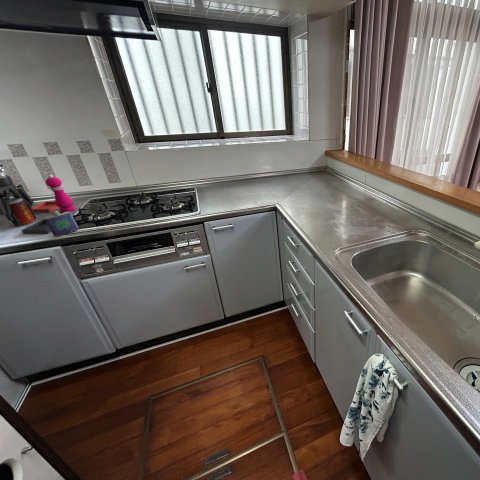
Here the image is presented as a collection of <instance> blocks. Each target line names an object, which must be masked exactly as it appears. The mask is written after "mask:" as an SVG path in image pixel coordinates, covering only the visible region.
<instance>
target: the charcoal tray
mask: <svg viewBox="0 0 480 480" xmlns="http://www.w3.org/2000/svg"><path fill="white" fill-rule="evenodd" d="M21 232H22V234H23V235H35V234H37V235H39V234H43V235H44V234H45V235H46V234H49V233H52V231H51V230H50V228H49V226H48V225H47V223H46V221H45V219H40V220H39V221H37V222H34V223H32V224H30V225H29V226H27V227H25V228H23V229H21Z"/></svg>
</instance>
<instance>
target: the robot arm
mask: <svg viewBox="0 0 480 480" xmlns="http://www.w3.org/2000/svg"><path fill="white" fill-rule="evenodd" d="M11 197H13V198H20V199H23V200H24V202H25V203H26V205H27V207H28V208H29V210H30V211H31V213H32V215H33V216H34V220H35V219H38V217H37V215H36V214H35V213H34V212H33V211H34V210H33V209H32V207H33V204H34V200H33V199H32V198H31V196H30V195H29V194H28V193H27V192H26V190H25V189H24V186H23V185H22V184H14V181H13V179H12V177H11V176H10V175H9V173H8V171H7V170H6V168H5V166H4V165H3V163H2V161H1V160H0V216H5V218H7V220H8V221H9V222H11V223H12V224H13V227H22V226H21V224H20V222H19V221H18V219H17V218H16V216H15V215H14V213H11V209H10V206H9V199H11Z"/></svg>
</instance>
